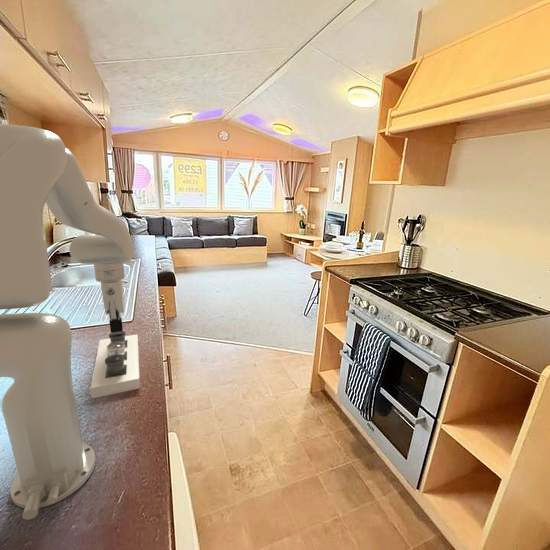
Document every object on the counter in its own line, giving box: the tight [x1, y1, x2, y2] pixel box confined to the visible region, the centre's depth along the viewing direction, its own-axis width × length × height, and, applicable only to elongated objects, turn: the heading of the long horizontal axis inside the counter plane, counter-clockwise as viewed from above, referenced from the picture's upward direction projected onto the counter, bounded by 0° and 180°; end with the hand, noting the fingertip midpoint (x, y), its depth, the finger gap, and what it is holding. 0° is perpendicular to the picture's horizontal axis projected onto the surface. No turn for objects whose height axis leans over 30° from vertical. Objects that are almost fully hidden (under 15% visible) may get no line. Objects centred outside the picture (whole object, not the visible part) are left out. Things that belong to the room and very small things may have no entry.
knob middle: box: [107, 342, 125, 358], centre depth 87 cm, size 5×5×4 cm
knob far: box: [108, 330, 127, 345], centre depth 94 cm, size 5×5×4 cm
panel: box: [89, 334, 141, 399], centre depth 88 cm, size 26×11×3 cm, turn 24°
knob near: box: [105, 354, 125, 377], centre depth 81 cm, size 5×5×4 cm
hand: (116, 330), depth 93 cm, fingers closed
